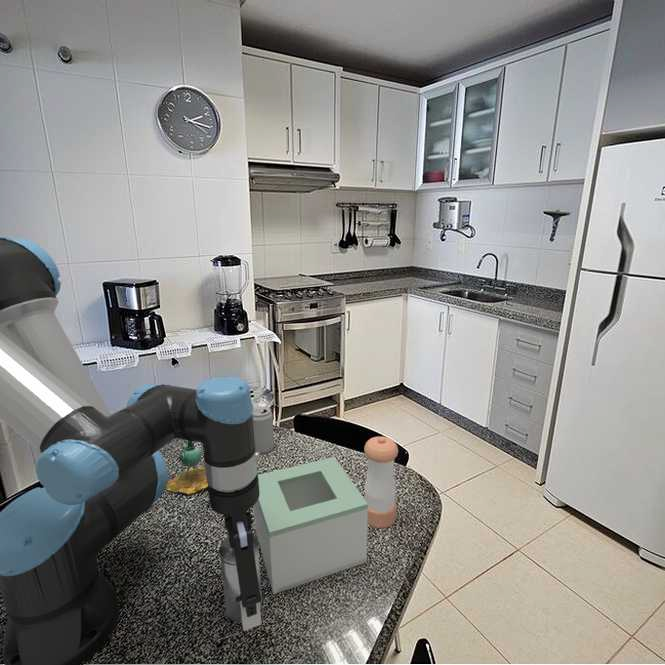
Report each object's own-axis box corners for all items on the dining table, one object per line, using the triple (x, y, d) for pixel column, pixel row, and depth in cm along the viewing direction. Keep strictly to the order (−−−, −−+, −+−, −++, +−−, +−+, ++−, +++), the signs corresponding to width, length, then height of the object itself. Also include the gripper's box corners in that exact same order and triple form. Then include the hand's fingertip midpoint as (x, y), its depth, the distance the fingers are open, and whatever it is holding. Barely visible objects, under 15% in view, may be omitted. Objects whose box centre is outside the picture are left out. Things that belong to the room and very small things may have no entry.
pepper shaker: (367, 530, 83) (368, 449, 78) (359, 506, 90) (360, 430, 85) (400, 525, 84) (404, 445, 79) (390, 502, 91) (393, 427, 86)
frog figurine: (235, 491, 96) (223, 437, 91) (157, 507, 93) (141, 454, 89) (237, 467, 105) (226, 417, 100) (166, 481, 102) (151, 431, 98)
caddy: (273, 594, 69) (269, 532, 65) (255, 530, 83) (251, 476, 80) (366, 562, 75) (367, 504, 72) (335, 507, 90) (334, 456, 86)
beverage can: (269, 456, 109) (267, 416, 106) (247, 453, 111) (245, 414, 107) (277, 443, 115) (275, 406, 112) (256, 441, 117) (254, 404, 113)
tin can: (228, 627, 63) (221, 567, 60) (223, 595, 69) (217, 538, 66) (265, 614, 66) (261, 555, 62) (258, 583, 71) (254, 528, 68)
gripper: (276, 526, 50) (286, 651, 56) (244, 434, 73) (253, 530, 79) (215, 544, 48) (232, 673, 54) (201, 442, 70) (213, 541, 76)
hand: (244, 588), depth 66 cm, fingers open, 13 cm apart
